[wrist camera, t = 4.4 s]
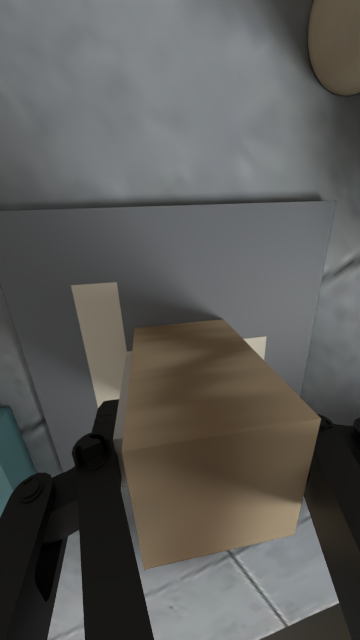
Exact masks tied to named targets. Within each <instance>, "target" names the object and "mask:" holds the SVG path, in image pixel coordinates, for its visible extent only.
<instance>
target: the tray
mask: <svg viewBox="0 0 360 640" xmlns="http://www.w3.org/2000/svg"><path fill="white" fill-rule="evenodd" d="M34 474H36V471H35V469H34V466H33V464H32V461H31V459H30V456H29V454H28V451H27V449H26V446H25V444H24V441H23V438H22V436H21V433H20V431H19V428H18V426H17V423H16V421H15V418H14V416H13V413H12V411H11V408H10V407H4V408H0V517H1V515H2V513H3V510H4V508H5V506H6V504H7V502H8V499H9V497H10V496H11V494H12V492H13V491H14V489H15V488H16V487H17V486H18V485H19V484H20V483H21V482H22V481H24V480H25V479H27V478H28V477H30V476H32V475H34Z"/></svg>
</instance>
